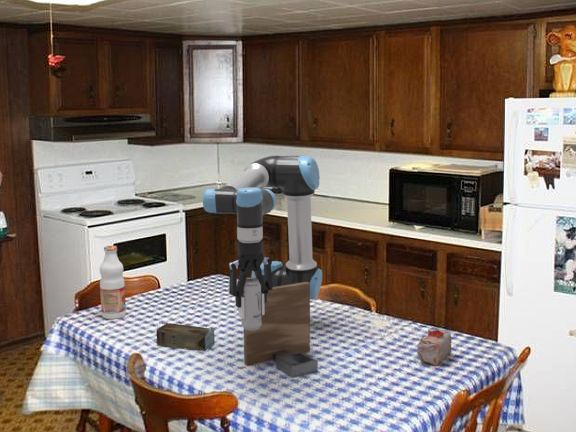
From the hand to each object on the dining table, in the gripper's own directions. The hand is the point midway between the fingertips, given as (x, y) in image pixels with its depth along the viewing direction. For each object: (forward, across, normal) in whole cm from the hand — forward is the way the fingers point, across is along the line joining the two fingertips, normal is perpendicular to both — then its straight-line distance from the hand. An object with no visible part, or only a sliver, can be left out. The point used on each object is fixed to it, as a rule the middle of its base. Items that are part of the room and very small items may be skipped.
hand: (251, 315), depth 211 cm
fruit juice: (+21, -19, +84) cm, 89 cm away
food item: (+21, +59, -16) cm, 65 cm away
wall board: (+21, +15, +12) cm, 28 cm away
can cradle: (+21, +16, +3) cm, 26 cm away
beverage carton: (+21, -6, +39) cm, 45 cm away
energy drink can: (+4, 0, 0) cm, 4 cm away
